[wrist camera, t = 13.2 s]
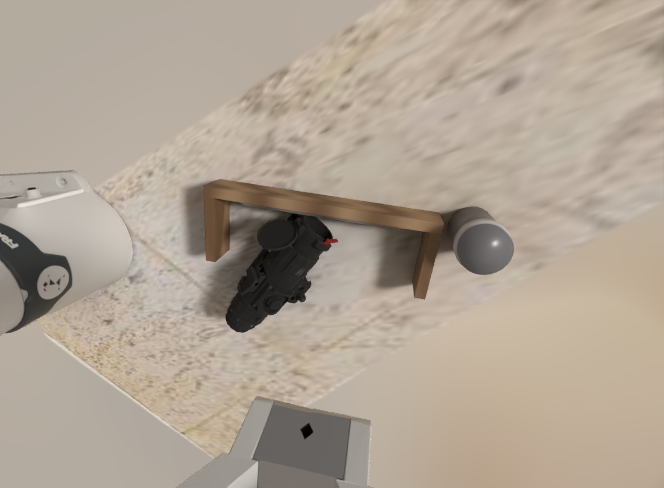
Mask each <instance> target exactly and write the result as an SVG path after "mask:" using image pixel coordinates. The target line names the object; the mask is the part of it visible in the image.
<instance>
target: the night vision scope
mask: <svg viewBox="0 0 664 488" xmlns="http://www.w3.org/2000/svg"><path fill="white" fill-rule="evenodd" d="M257 238H258V242H259V244H260V245H261V246H262V247H263V248H264V249H263V250H262V251H261V253H260V254H259V255H258V257H257V258H256V259H255V261H254V262H253V263H252V265H251V266H250V267H249V268H248V269H247V270H246V271H247V276H246V277H245V276H243V277H242V278H241V280H240V282H239V283H238V287H237V288H238V293H237V294H236V296H235V297H234V298H233V300H232V301H231V305H230V306H229V308H228V310H227V314H226V321H227V324H228V325H229V326H230V327H231V328H232V329H233V330H235V331H236V332H242V333H244V332H246V331H248V330H250V329H252V328H254V327H255V326H256V325H258V324H260V323H261V322H262V321H263V320H264V319H265V318H266V317H267V315H274V314H276V313H277V312H278V311H279V310H280V309H281V307H282V306H283V305H284V304H285V303H286V302H290V303H296V302H297V301H298V300H299V301H300V302H304V301H305V300H306V297H305V293H306V291H307V290H308V289H309V288H310V287H311V281H309V282H308V281H307V279H306V277H305V276H306V275H307V272H308V271H309V270H310V269H311V268H312V267H313V266H314V265H315V264H316V262H317V260H318V259H319V255H320V254H321V253H322V252H323V251H328V250H329V248H330V247H331V244H330V243H335V242H338V240H337V239H333V236H332V234H331V232H330V230H329V229H328V228H327V227H326V226H325V225H324V224H323V223H322V222H321V221H320V220H318V219H317V218H315V217H313V216H309V215H303V216H302V217H301V218H300V217H299V216H297V215H295V214H291V215H290V216H289V218H288V219H287V220H285V219H276V220H273V221H269V222H268V223H266V224H264V225H263V226H262V227H261V228H260V230H259V231H258V235H257Z"/></svg>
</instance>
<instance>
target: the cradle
mask: <svg viewBox="0 0 664 488" xmlns="http://www.w3.org/2000/svg"><path fill="white" fill-rule="evenodd" d="M229 201H235V202H241V203H242V205H246V206H252V207H259V208H265V209H271V210H278V211H284V212H290V213H296V214H303V215H309V216H315V217H321V218H328V219H334V220H340V221H346V222H353V223H359V224H365V225H371V226H378V227H384V228H390V229H396V230H401V228H404V229H410V230H417V231H423V232H424V233H423V237H422V242H421V246H420V250H419V255H418V259H417V263H416V267H415V272H414V276H413V280H412V283H413V291H414V298H420V299H425V297H426V293H427V289H428V286H429V282H430V278H431V274H432V270H433V266H434V262H435V258H436V254H437V250H438V246H439V243H440V239H441V235H442V231H443V227H444V222H443V220H442V218H441V216H440V213H437V212H431V211H424V210H418V209H411V208H405V207H398V206H392V205H385V204H379V203H372V202H365V201H359V200H352V199H346V198H339V197H333V196H326V195H320V194H313V193H307V192H300V191H294V190H287V189H281V188H274V187H268V186H261V185H255V184H248V183H242V182H235V181H228V180H222V179H219V180H217V181H215V182H213V183H210V184H208V185H206V186H204V207H205V241H206V260H207V261H212V262H216V261H217V260H218V259H219V258H221V257H222V256H223V255H224V254H225V253H226V252H227V251H228V250H229Z"/></svg>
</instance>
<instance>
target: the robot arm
mask: <svg viewBox="0 0 664 488" xmlns="http://www.w3.org/2000/svg"><path fill="white" fill-rule="evenodd" d="M132 256H133V249H132V242H131V238H130V235H129V232H128V230H127V228H126V226H125V224H124V222H123V221H122V219H121V218H120V216H119V215H118V214H117V212H116V211H115V210H114V209H113V208H112V207H111V206H110V205H109V204H108V203H107V202H106V201H104V200H103V199H102V198H100V197H99V196H98V195H97V194H96V193H95V192H94V191H93V190H92V189H91V187H90V186H89V184H88V183H87V182H86V180H85V179H84V178H83V176H82V175H81V174H80V173H78V172H77V171H73V170H69V171H53V172H37V173H19V174H3V175H0V336H1V335H2V334H4V333H11V332H14V331H16V330H18V329H20V328H22V327H25V326H27V325H30V324H31V323H33V322H35V321H36V320H37V319H38V318H40V317H41V316H43V315H46V316H48V315H52V314H54V313H56V312H58V311H60V310H62V309H64V308H66V307H68V306H70V305H72V304H74V303H76V302H78V301H80V300H82V299H84V298H86V297H87V298H90V299H95V298H97V297H99V296H101V295H102V294H103V292H104V291H105V289H106V288H107V286H108V285H109V284H111V283H113V282H115V281H117V280H119V279H121V278H122V277H123V276H124V275H125V274H126V273H127V271H128V270H129V268H130V265H131V262H132ZM371 426H372V424H371V421H370V420H366V419H361V418H356V417H350V416H348V415H343V414H338V413H333V412H328V411H323V410H317V409H310V408H306V407H302V406H298V405H294V404H290V403H285V402H281V401H277V400H272V399H268V398H264V397H259V396H257V397H256V398H255V399H254V401H253V402H252V405H251V407H250V409H249V411H248V413H247V415H246V418H245V420H244V422H243V424H242V426H241V428H240V431H239V433H238V435H237V437H236V439H235V441H234V444H233V446H232V448H231V450H230V452H229V454H227V453H222V454H220V455H219V456H218V457H216V458H215V459H214V460H213V461H211V462H210V463H208V464H207V465H206V466H205V467H203V468H202V469H200V470H199V471H198V472H196V473H195V474H194V475H192V476H191V477H190V478H188V479H187V480H186V481H184V482H183V483H182V484H180V485H179V486H177V487H176V488H373V487H369V486H368V484H369V465H370V445H371Z"/></svg>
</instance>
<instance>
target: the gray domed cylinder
mask: <svg viewBox="0 0 664 488" xmlns="http://www.w3.org/2000/svg"><path fill="white" fill-rule="evenodd" d="M448 235H449V237H450V240H451V242H452V244H453V250H454V253H455V255H456V258H457V260H458V261H459V263H460V264H461V265H462V266H464V267H465V268H466V269H467V270H469V271H470V272H472V273H475V274H480V275H487V274H493V273H495V272H498V271H500V270H501V269H503V268H504V267H505V266H506V265H507V264H508V263H509V262H510V260H511V258H512V256H513V253H514V245H513V241H512V237H511V235H510V233H509V232H508V230H507V229H506V228H505V227H504V226H503V225H502V224H500V223H499V222H497V221H495V220H494V218H493V217H492V216H491V215H490V214H489V213H488V212H487V211H485V210H484V209H482V208H479V207H466V208H463V209H461V210H459V211H457V212H456V213H455V214H454V215H453V216H452V217H451V219H450V221H449V223H448Z"/></svg>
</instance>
